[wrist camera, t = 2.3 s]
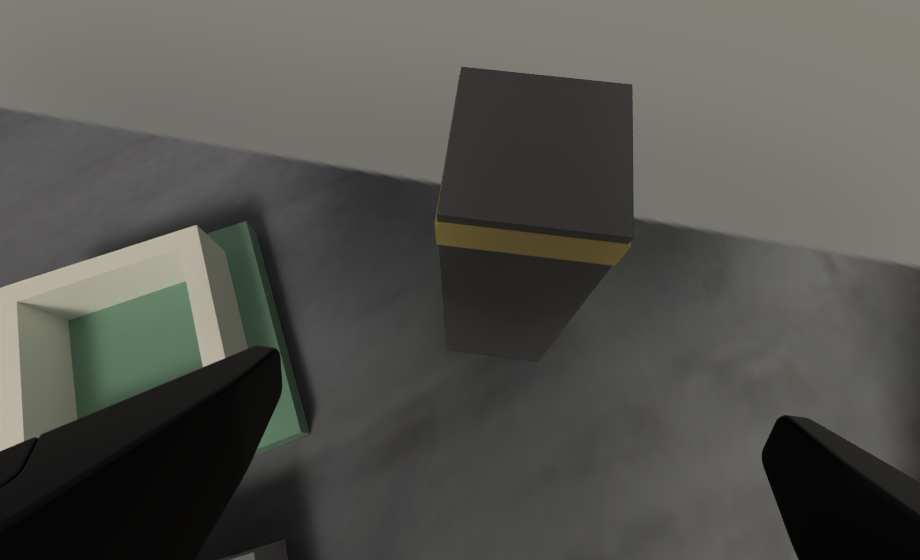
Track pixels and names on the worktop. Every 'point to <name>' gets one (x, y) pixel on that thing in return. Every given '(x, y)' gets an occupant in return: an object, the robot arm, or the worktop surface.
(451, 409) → the worktop surface
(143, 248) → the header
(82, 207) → the worktop surface
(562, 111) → the dark grey tall block
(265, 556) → the grey domed square block
